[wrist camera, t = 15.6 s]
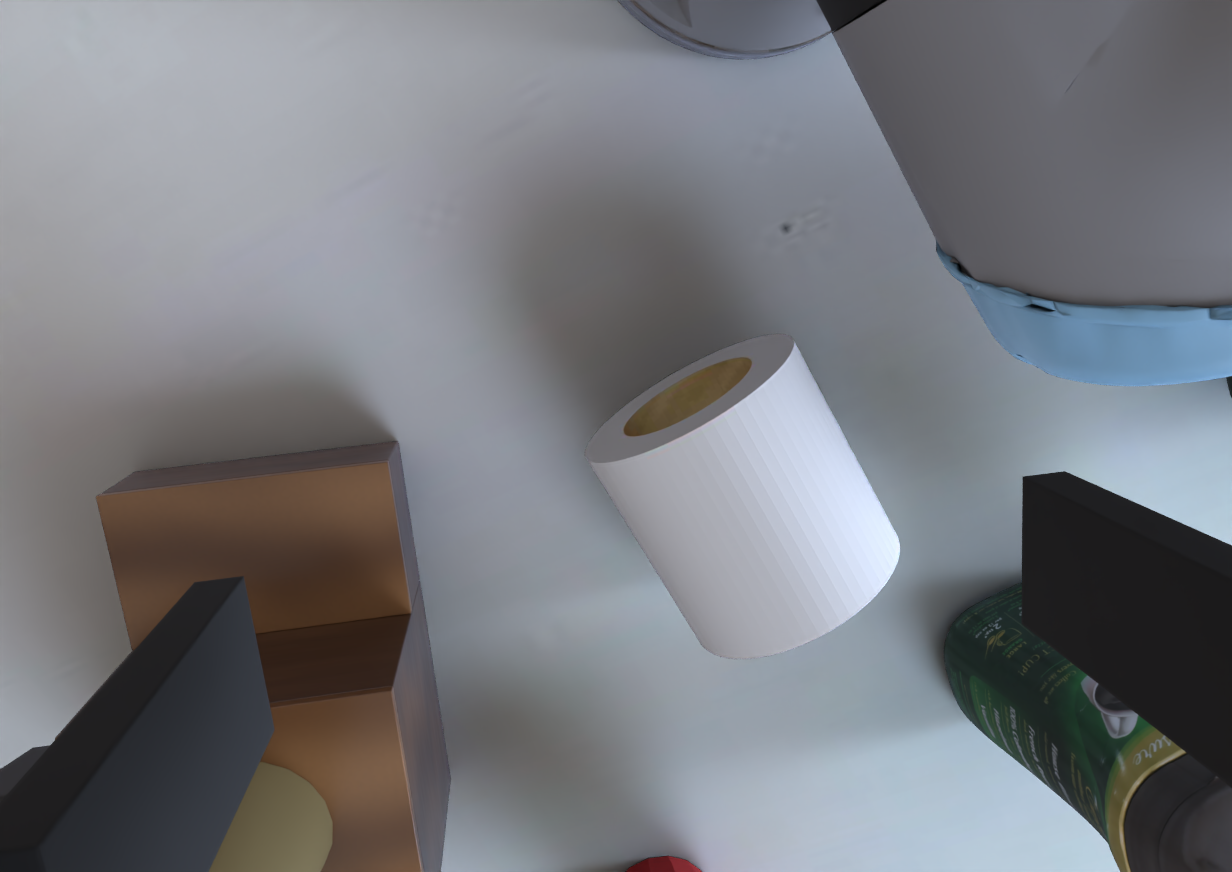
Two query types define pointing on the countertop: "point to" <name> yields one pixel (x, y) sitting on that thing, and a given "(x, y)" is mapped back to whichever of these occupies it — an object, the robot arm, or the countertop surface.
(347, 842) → the brown wooden stepped block
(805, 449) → the toilet paper
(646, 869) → the plastic cup
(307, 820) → the pale yellow rounded piece
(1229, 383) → the squash
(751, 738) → the countertop surface
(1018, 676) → the coffee jar
